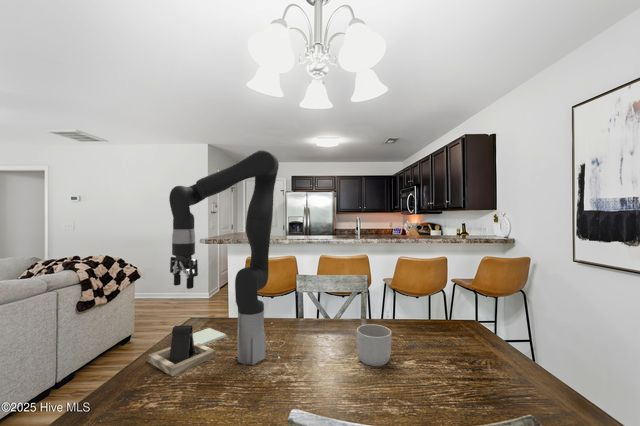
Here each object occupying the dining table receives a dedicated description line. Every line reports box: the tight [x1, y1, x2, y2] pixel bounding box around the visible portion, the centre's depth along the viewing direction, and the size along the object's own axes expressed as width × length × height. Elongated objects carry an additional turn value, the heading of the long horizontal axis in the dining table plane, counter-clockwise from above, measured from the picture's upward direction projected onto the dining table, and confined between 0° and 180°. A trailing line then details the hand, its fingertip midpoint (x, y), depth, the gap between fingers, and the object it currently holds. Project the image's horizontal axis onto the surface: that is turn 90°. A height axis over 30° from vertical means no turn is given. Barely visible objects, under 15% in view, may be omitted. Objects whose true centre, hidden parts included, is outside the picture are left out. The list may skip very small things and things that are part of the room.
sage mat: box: [192, 327, 227, 346], centre depth 125 cm, size 12×12×1 cm
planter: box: [356, 323, 393, 367], centre depth 107 cm, size 12×12×11 cm
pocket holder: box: [147, 341, 216, 377], centre depth 107 cm, size 16×16×2 cm
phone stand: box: [168, 325, 196, 364], centre depth 107 cm, size 9×6×12 cm, turn 5°
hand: (183, 286), depth 107 cm, fingers open, 8 cm apart
